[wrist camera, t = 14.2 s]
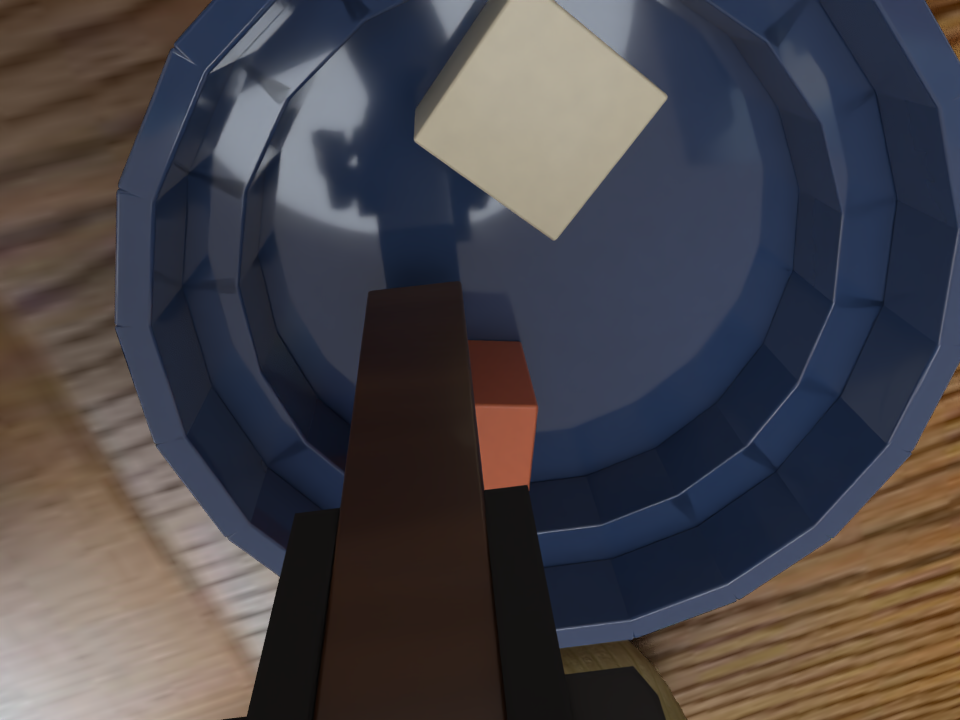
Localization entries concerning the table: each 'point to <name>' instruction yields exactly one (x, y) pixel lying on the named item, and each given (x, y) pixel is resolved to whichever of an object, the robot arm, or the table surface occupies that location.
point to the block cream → (534, 110)
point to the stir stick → (412, 528)
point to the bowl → (562, 278)
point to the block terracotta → (503, 412)
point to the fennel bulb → (616, 658)
